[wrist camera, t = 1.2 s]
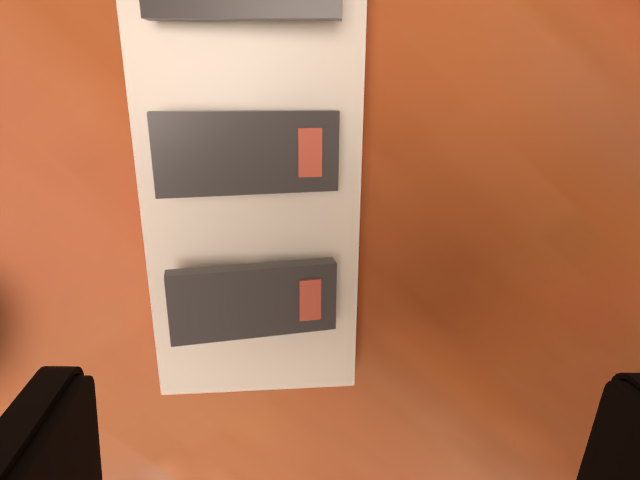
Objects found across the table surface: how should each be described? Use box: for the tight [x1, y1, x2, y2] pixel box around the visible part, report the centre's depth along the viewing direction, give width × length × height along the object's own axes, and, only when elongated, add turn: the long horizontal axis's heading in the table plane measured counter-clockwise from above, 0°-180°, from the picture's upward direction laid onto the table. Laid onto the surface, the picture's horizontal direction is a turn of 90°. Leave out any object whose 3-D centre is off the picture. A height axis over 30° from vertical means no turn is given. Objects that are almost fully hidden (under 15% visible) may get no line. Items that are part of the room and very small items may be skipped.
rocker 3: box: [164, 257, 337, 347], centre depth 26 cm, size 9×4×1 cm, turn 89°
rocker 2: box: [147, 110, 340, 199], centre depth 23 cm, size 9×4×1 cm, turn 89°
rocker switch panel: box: [116, 0, 367, 395], centre depth 26 cm, size 12×30×4 cm, turn 179°
